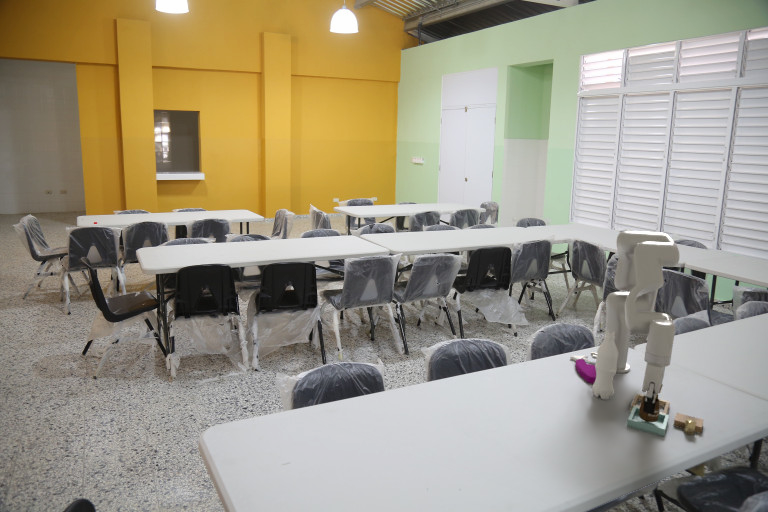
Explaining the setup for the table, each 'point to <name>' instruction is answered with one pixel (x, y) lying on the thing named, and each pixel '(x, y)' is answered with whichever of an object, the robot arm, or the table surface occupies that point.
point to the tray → (648, 423)
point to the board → (682, 418)
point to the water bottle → (606, 366)
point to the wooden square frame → (662, 403)
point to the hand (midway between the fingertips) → (649, 408)
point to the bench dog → (689, 427)
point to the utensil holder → (648, 416)
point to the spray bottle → (585, 369)
